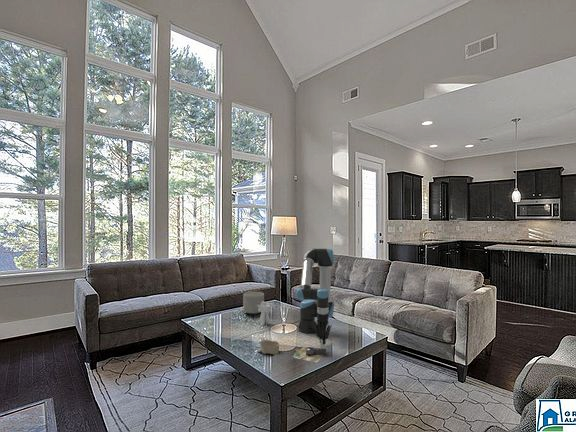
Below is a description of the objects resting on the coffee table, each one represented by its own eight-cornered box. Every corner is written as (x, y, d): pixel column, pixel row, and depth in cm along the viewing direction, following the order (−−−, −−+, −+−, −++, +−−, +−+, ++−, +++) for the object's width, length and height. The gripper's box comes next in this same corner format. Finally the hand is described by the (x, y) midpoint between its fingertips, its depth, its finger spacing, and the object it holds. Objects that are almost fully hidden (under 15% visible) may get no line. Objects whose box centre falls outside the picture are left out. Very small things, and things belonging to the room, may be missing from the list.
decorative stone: (258, 350, 215) (258, 337, 215) (279, 351, 213) (279, 338, 214) (256, 355, 206) (256, 342, 207) (278, 356, 205) (278, 343, 205)
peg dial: (295, 355, 203) (295, 350, 203) (295, 351, 209) (295, 346, 209) (326, 355, 203) (326, 351, 203) (325, 351, 209) (325, 347, 209)
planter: (243, 310, 306) (243, 291, 306) (263, 310, 308) (263, 291, 308) (242, 316, 287) (243, 296, 287) (264, 316, 289) (264, 296, 289)
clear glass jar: (269, 326, 262) (270, 304, 262) (255, 324, 266) (255, 302, 267) (275, 321, 273) (275, 300, 274) (260, 320, 278) (260, 299, 278)
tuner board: (290, 358, 202) (290, 356, 202) (302, 347, 218) (302, 345, 219) (317, 364, 193) (317, 362, 193) (327, 353, 210) (327, 350, 210)
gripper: (311, 312, 213) (311, 347, 213) (327, 316, 205) (327, 353, 205) (318, 309, 219) (318, 344, 219) (334, 313, 210) (334, 349, 210)
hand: (322, 348), depth 212 cm, fingers closed
